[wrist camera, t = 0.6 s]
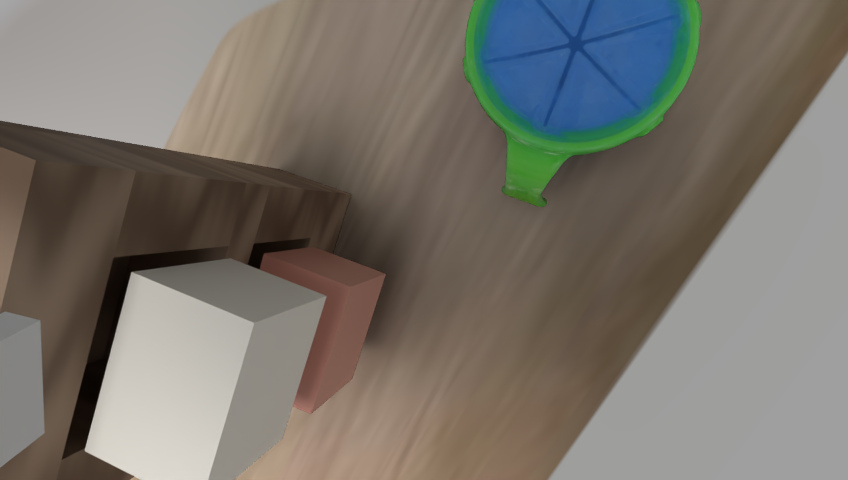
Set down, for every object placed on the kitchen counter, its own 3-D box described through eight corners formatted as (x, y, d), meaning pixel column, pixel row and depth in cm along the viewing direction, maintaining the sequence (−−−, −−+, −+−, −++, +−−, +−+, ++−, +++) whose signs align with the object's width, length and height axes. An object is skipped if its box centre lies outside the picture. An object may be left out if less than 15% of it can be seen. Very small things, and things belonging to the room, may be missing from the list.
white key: (230, 258, 24) (131, 271, 18) (326, 295, 23) (254, 323, 18) (191, 395, 25) (84, 451, 19) (282, 437, 24) (199, 509, 18)
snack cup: (548, -57, 34) (550, -169, 24) (707, 4, 32) (780, -90, 22) (442, 164, 36) (404, 145, 26) (585, 234, 34) (602, 241, 24)
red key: (313, 246, 33) (264, 253, 27) (385, 273, 32) (350, 287, 26) (282, 349, 34) (228, 377, 28) (352, 378, 33) (310, 414, 27)
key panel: (277, 169, 39) (-124, 99, 15) (351, 194, 38) (35, 160, 14) (227, 343, 40) (-206, 520, 17) (295, 373, 39) (-69, 605, 16)
